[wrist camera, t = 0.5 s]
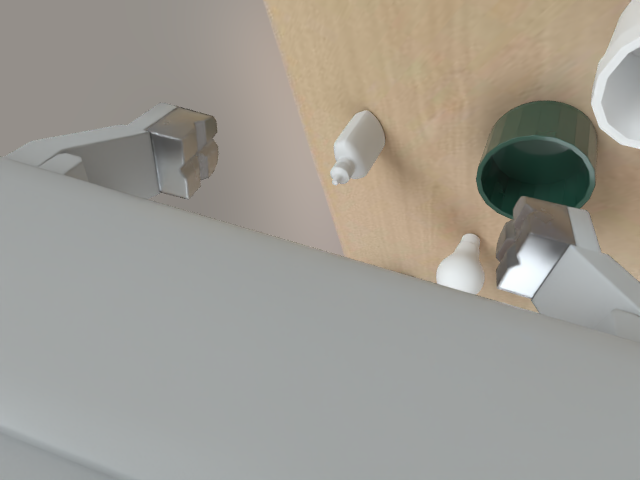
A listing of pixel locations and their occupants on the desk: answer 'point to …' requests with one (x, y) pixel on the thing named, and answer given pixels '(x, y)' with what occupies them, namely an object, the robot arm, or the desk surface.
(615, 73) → the foam cup
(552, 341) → the robot arm
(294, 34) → the desk surface
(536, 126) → the tin
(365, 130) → the eye dropper bottle
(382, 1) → the desk surface
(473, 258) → the lightbulb
